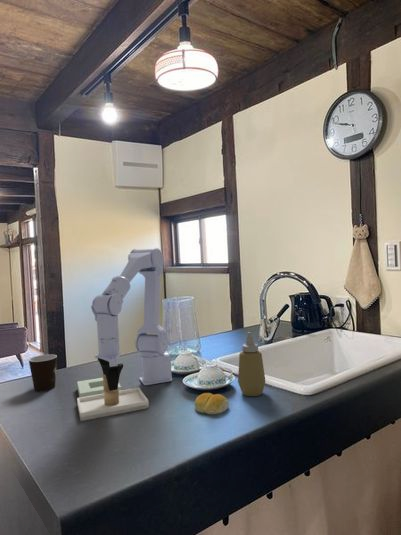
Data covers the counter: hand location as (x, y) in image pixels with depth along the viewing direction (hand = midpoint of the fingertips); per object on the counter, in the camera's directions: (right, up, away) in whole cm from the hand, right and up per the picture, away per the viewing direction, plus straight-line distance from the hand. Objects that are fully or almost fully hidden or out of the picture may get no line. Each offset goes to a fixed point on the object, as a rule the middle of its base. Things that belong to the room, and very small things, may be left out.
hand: (111, 385), depth 109 cm
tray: (0, -6, 0) cm, 6 cm away
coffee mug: (-26, -7, +20) cm, 33 cm away
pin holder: (-7, -6, +13) cm, 15 cm away
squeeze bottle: (+40, -4, +5) cm, 41 cm away
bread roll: (+28, -5, -4) cm, 29 cm away
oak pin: (0, -5, 0) cm, 5 cm away
